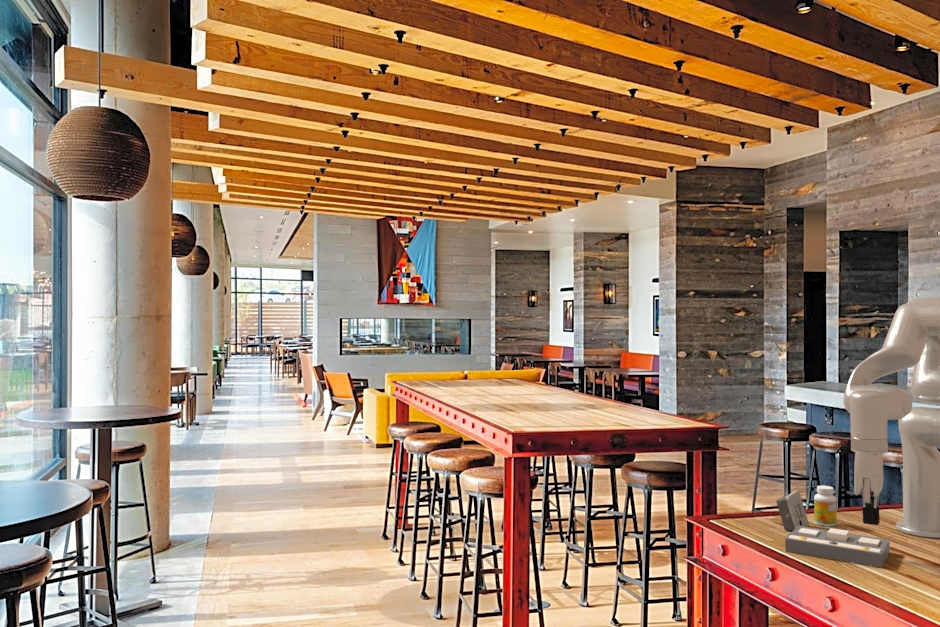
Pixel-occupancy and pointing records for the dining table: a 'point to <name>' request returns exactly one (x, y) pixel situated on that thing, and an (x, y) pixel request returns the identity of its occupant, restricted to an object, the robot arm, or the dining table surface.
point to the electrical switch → (792, 511)
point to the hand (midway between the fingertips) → (871, 523)
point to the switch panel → (838, 547)
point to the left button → (808, 532)
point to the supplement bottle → (825, 506)
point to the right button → (869, 542)
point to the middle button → (838, 535)
